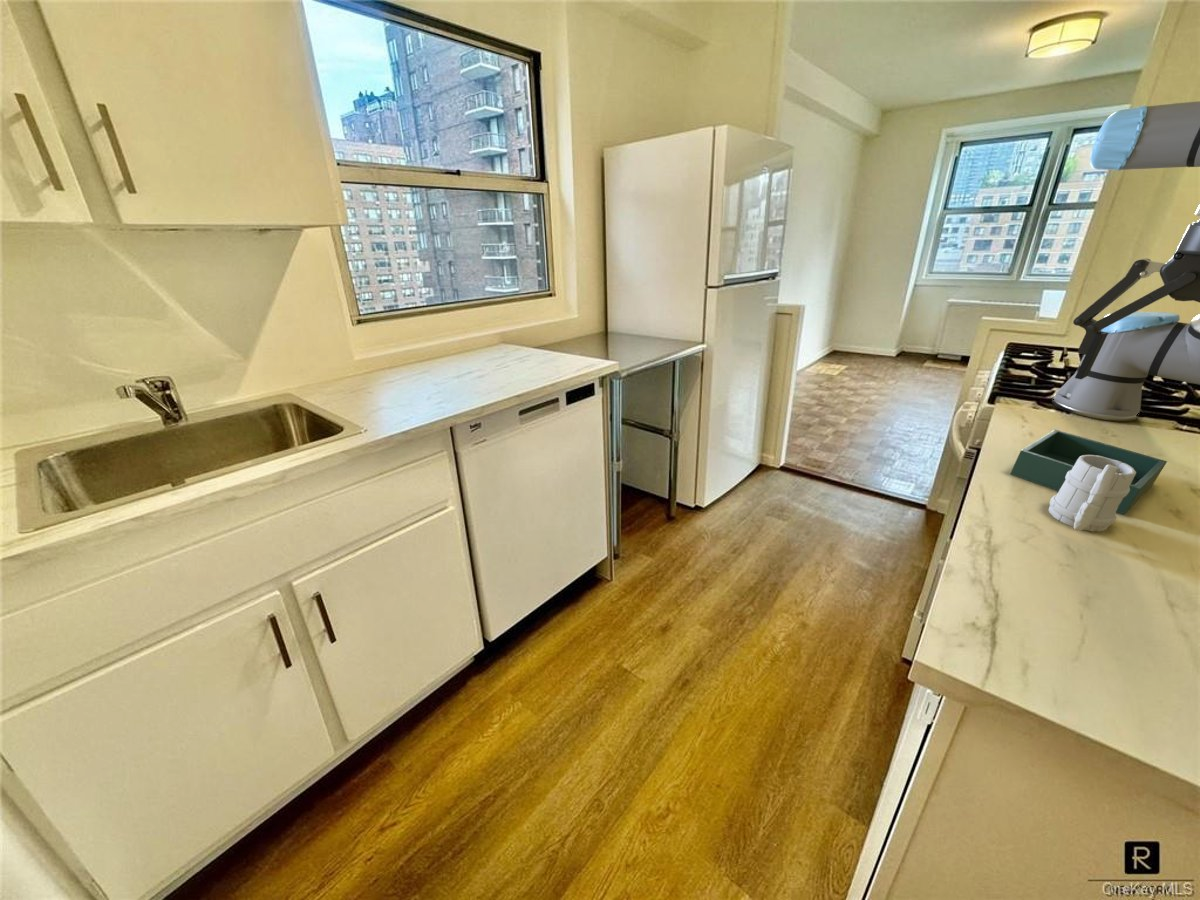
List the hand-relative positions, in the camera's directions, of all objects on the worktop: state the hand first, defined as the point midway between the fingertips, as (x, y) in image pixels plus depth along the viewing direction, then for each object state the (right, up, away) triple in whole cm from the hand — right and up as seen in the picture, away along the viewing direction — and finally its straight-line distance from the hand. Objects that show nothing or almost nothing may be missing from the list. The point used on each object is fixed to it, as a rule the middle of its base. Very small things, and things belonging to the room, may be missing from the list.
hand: (1144, 390), depth 66 cm
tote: (+12, -14, +21) cm, 28 cm away
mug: (-1, -20, +9) cm, 22 cm away
